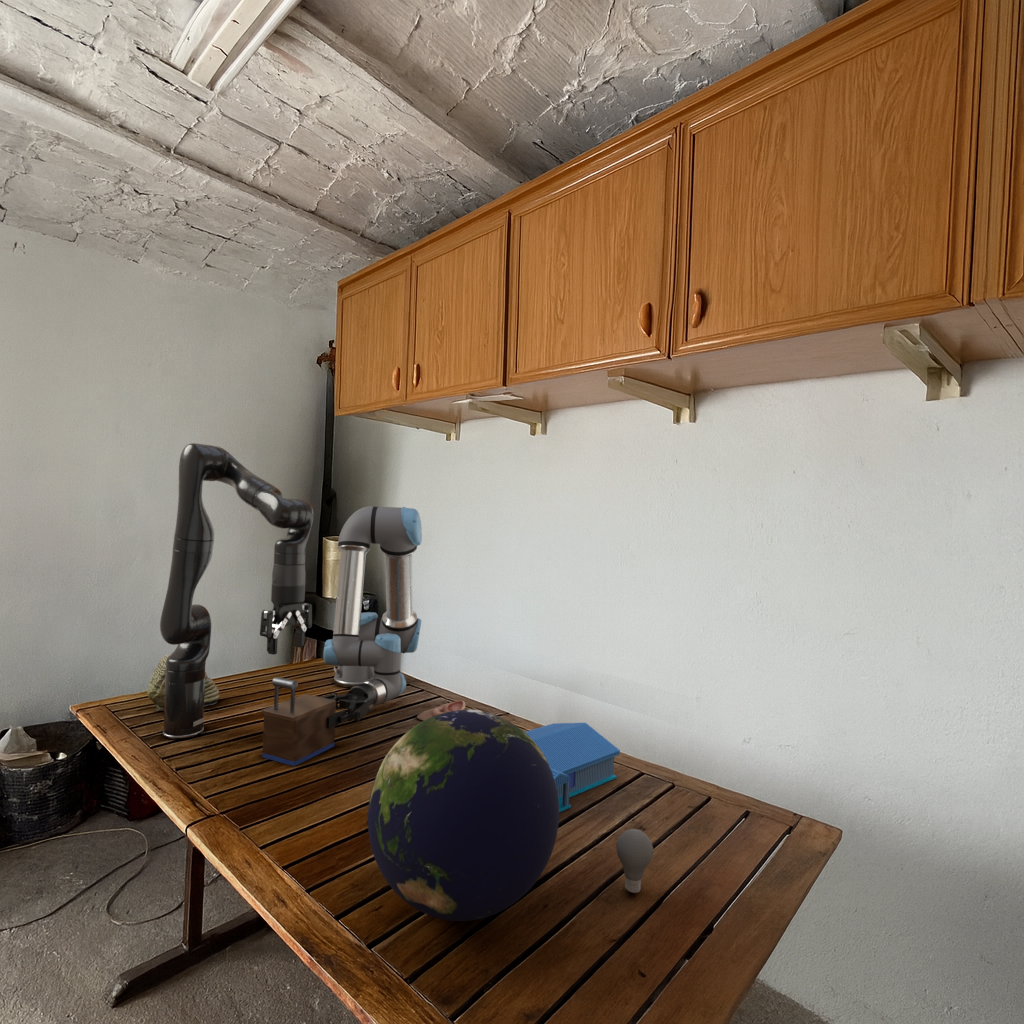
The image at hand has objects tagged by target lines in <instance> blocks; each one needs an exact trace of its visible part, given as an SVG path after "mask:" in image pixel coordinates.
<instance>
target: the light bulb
mask: <svg viewBox="0 0 1024 1024" xmlns="http://www.w3.org/2000/svg"><path fill="white" fill-rule="evenodd" d="M615 849H616V854H617V857H618V859H619V861H620V863H621V865H622V867H623V873H624V874H623V875H624V876H625V878H624V888H625V890H627V891H628V892H630V893H634V894H635V893H639V892H640V891H641V889H642V887H641V886H642V879H643V877H644V875H645V871H646V868H647V867H648V866H649V864H650V863H651V861H652V859H653V855H654V847H653V843H652V841H651V838H649V836H648V835H647V834H646V833H645V832H643V831H642V830H641V829H636V828H629V829H627V830H625V831H623V832H622V833H621V834H620V835H619V837H618V839H617V841H616V847H615Z"/></svg>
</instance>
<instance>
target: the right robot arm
mask: <svg viewBox="0 0 1024 1024" xmlns="http://www.w3.org/2000/svg"><path fill="white" fill-rule="evenodd" d="M422 528H423V527H422V521H421V516H420V512H419V511H418V510H417V509H416V508H411V507H405V506H402V507H398V506H396V507H395V506H374V505H367V506H363V507H361V508H359V509H358V510H356V511H354V512H353V513H352V514H351V515H350V516H349V517H348V518H347V519H346V522H345V523H344V524H343V526H342V528H341V531H340V533H339V536H338V541H337V549H338V551H339V552H340V556H339V565H338V566H339V567H338V579H337V589H336V599H335V601H336V602H335V610H334V621H333V633H332V634H333V635H332V638H331V639H327V640H325V642H324V647H323V661H324V663H325V664H326V665H327V666H333V671H334V673H335V674H334V677H333V683H334V684H335V685H336V686H338V687H341V688H348V689H349V690H348V692H347V693H344V694H342V695H338V692H332V693H330V694H325V695H322V696H321V697H322V698H327V699H331V700H336V711H338V712H336V714H334V715H331V716H329V717H327V728H328V729H329V728H331V727H334V726H335V727H337V726H338V725H340V724H342V723H345V722H347V721H348V722H350V721H352V720H353V721H354V722H359V721H360V720H362V719H363V718H364V717H365V716H366V715H367V714H369V712H372V711H373V710H374V708H375V707H377V706H380V705H381V704H384V703H386V702H388V701H390V700H391V701H392V700H394V699H396V698H397V697H399V696H400V695H402V694H403V693H404V692H405V691H406V688H407V680H406V677H405V676H404V674H403V673H402V672H401V654H411V653H412V654H413V653H415V652H416V651H417V650H418V646H419V639H420V633H421V632H420V631H421V627H422V619H421V618H419V617H418V614H417V612H415V610H413V554H414V553H415V552H416V551H417V549H418V547H419V546H420V545H421V544H422V541H423V529H422ZM372 544H373V545H374V544H376V545H379V550H380V551H381V553H383V554H384V560H385V561H384V562H385V563H384V565H385V567H384V568H385V605H386V611H385V612H384V613H383V614H382V617H379V615H378V613H377V612H371V611H367V612H362V607H363V595H364V583H365V571H366V569H365V568H366V560H367V559H366V557H367V553H368V552H370V551H371V545H372ZM336 667H337V668H336ZM339 710H340V711H339Z"/></svg>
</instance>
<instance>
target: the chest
mask: <svg viewBox="0 0 1024 1024" xmlns="http://www.w3.org/2000/svg"><path fill="white" fill-rule="evenodd" d="M336 713H337V710H336V704H335V705H333V706H330V707H328V708H325V709H323V710H320V711H318V712H316V713H313V714H311V715H308V716H306V717H303V718H301V719H299V720H296V721H294V722H293V721H289V720H285V719H281V718H276V717H272V716H268V715H264V714H263V728H262V729H263V730H262V731H263V732H262V733H263V734H262V755H261V757H262V758H264V759H267V760H271V761H275V762H278V763H281V764H285V765H288V766H292V767H296V766H298V765H300V764H302V763H304V762H307V761H309V759H313V758H314V757H316V756H318V755H320V754H322V753H324V752H326V751H328V750H330V749H332V748H334V747H335V743H336V742H335V740H336V739H335V735H336V726H334V727H331V728H329V729H328V728H327V717H329V716H331V715H334V714H336Z"/></svg>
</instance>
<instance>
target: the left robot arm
mask: <svg viewBox="0 0 1024 1024" xmlns="http://www.w3.org/2000/svg"><path fill="white" fill-rule="evenodd" d="M204 482H220V483H223V484H225V485H228V486H231V487H232V488H233V489H234V490H235V493H236V495H237V496H238V497H239V499H240V500H241V501H242V502H244V503H245V504H247V505H248V506H250V507H251V508H253V509H254V510H256V511H258V512H259V513H260V514H261V516H262V517H263V518H264V519H265V520H266V522H267V523H268V524H269V525H271V526H273V527H275V528H278V529H287V532H286V533H285V536H284V537H281V538H278V539H277V540H276V541H275V543H274V546H273V566H272V572H271V592H270V601H271V603H272V604H273V605H272V610H267V609H262V611H261V615H260V627H259V636H261V637H264V638H266V651H267V653H268V655H273V656H274V655H277V654H278V644H279V643H278V639H279V638H278V636H279V635H280V633H281V631H283V630H284V628H285V627H288V626H293V628H294V629H295V631H294V647H295V648H303V647H304V645H305V639H306V637H305V635H306V631H307V629H311V628H312V626H313V611H312V610H313V605H312V603H308V602H307V603H306V602H305V600H306V599H305V597H306V546H307V542H308V541H309V537H310V534H311V530H312V527H313V523H314V518H315V517H314V510H313V507H312V504H311V503H310V502H309V501H308V500H307V499H303V498H284V496H283V493H282V491H281V490H280V489H279V488H278V487H276V486H274V485H273V484H271V483H269V482H268V481H266V480H264V479H262V478H261V477H259V476H258V475H256V474H254V473H253V472H252V471H250V470H249V469H248V468H247V467H245V465H243V464H242V463H240V462H239V460H237V459H236V458H235V457H234V456H233V455H232V454H231V453H230V452H229V451H227V450H226V449H224V448H223V447H221V446H217V445H211V444H204V443H198V442H197V443H195V442H193V443H192V442H190V443H187V444H186V445H185V446H184V447H183V448H182V451H181V454H180V456H179V461H178V500H177V513H176V521H175V527H174V534H173V542H172V554H171V563H170V570H169V577H168V583H167V589H166V593H165V598H164V602H163V607H162V611H161V615H160V621H159V631H160V634H161V637H162V639H163V640H164V641H165V643H167V644H168V645H172V646H176V645H177V646H176V647H175V649H174V650H173V652H172V653H170V654H169V655H170V656H169V657H168V658H167V660H166V674H165V705H164V710H163V731H162V737H164V738H166V739H169V740H185V739H190V738H191V739H192V738H194V737H197V736H199V735H202V734H203V732H204V730H205V729H204V722H205V706H204V693H205V672H206V664H207V663H206V662H207V659H208V657H209V654H210V649H211V639H212V617H211V614H210V612H209V610H208V609H207V608H206V607H205V606H203V605H201V604H196V603H195V604H194V603H193V601H194V595H195V592H196V589H197V586H198V585H199V582H200V581H201V579H202V577H203V576H204V574H205V572H206V570H207V569H208V566H209V565H210V563H211V561H212V557H213V550H214V544H215V529H214V525H213V524H212V521H211V519H210V517H209V514H208V513H207V510H206V507H205V505H204V501H203V485H204Z"/></svg>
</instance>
